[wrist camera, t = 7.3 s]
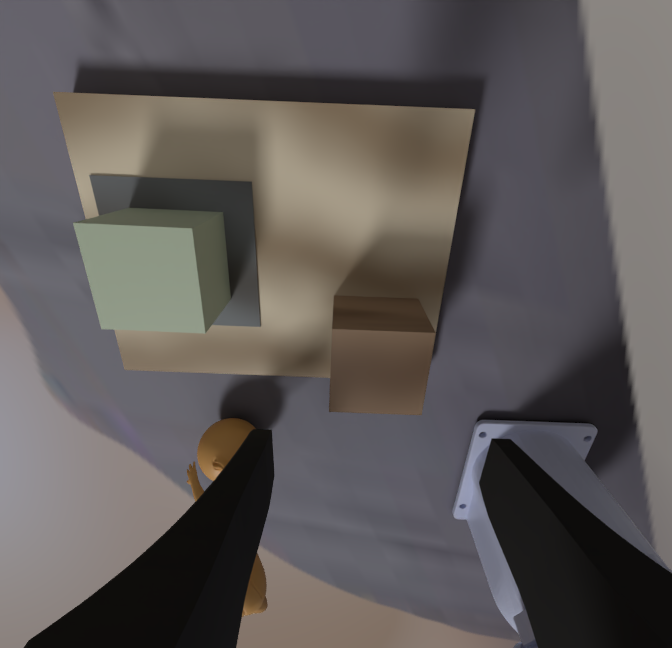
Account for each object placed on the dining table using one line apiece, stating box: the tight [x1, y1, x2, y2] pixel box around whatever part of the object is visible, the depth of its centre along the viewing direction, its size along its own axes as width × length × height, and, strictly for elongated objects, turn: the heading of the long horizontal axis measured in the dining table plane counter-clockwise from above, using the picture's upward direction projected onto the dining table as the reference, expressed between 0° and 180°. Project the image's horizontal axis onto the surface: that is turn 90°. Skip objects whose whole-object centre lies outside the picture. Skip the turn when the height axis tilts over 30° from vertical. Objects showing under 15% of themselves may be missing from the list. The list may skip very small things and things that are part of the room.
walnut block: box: [329, 295, 436, 415], centre depth 18 cm, size 4×4×4 cm
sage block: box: [73, 208, 231, 334], centre depth 16 cm, size 4×4×4 cm
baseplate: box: [53, 92, 475, 378], centre depth 19 cm, size 14×18×1 cm
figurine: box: [187, 418, 267, 617], centre depth 19 cm, size 8×6×12 cm
